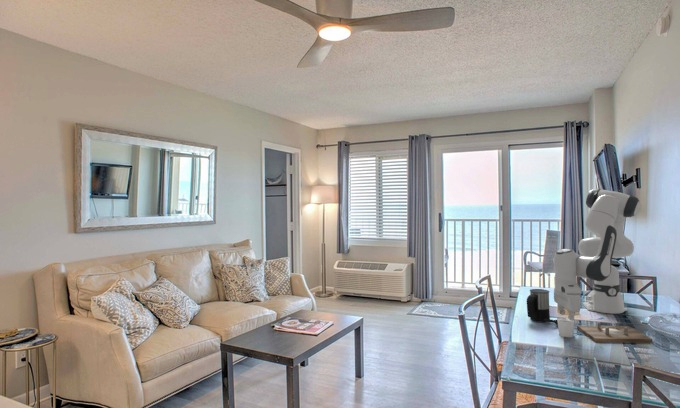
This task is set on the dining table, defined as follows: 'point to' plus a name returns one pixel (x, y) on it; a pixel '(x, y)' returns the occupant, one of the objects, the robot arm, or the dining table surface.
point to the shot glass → (565, 327)
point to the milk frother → (539, 306)
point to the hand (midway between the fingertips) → (566, 317)
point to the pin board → (614, 334)
